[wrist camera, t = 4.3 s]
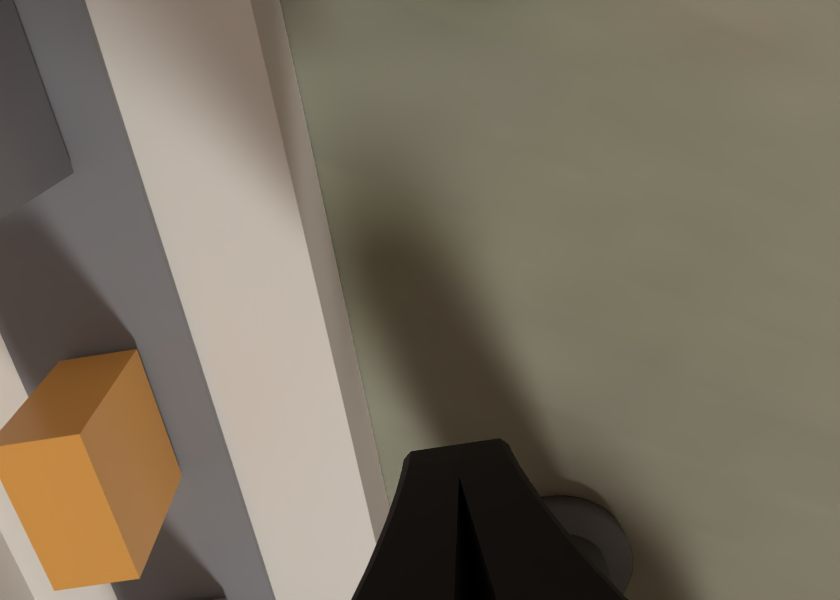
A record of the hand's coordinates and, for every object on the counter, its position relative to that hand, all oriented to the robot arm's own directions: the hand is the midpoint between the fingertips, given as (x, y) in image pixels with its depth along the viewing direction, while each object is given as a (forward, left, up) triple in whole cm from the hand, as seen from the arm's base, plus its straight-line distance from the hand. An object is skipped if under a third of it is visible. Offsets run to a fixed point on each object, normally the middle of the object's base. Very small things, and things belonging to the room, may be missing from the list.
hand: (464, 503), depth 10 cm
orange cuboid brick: (-6, 0, -4) cm, 7 cm away
